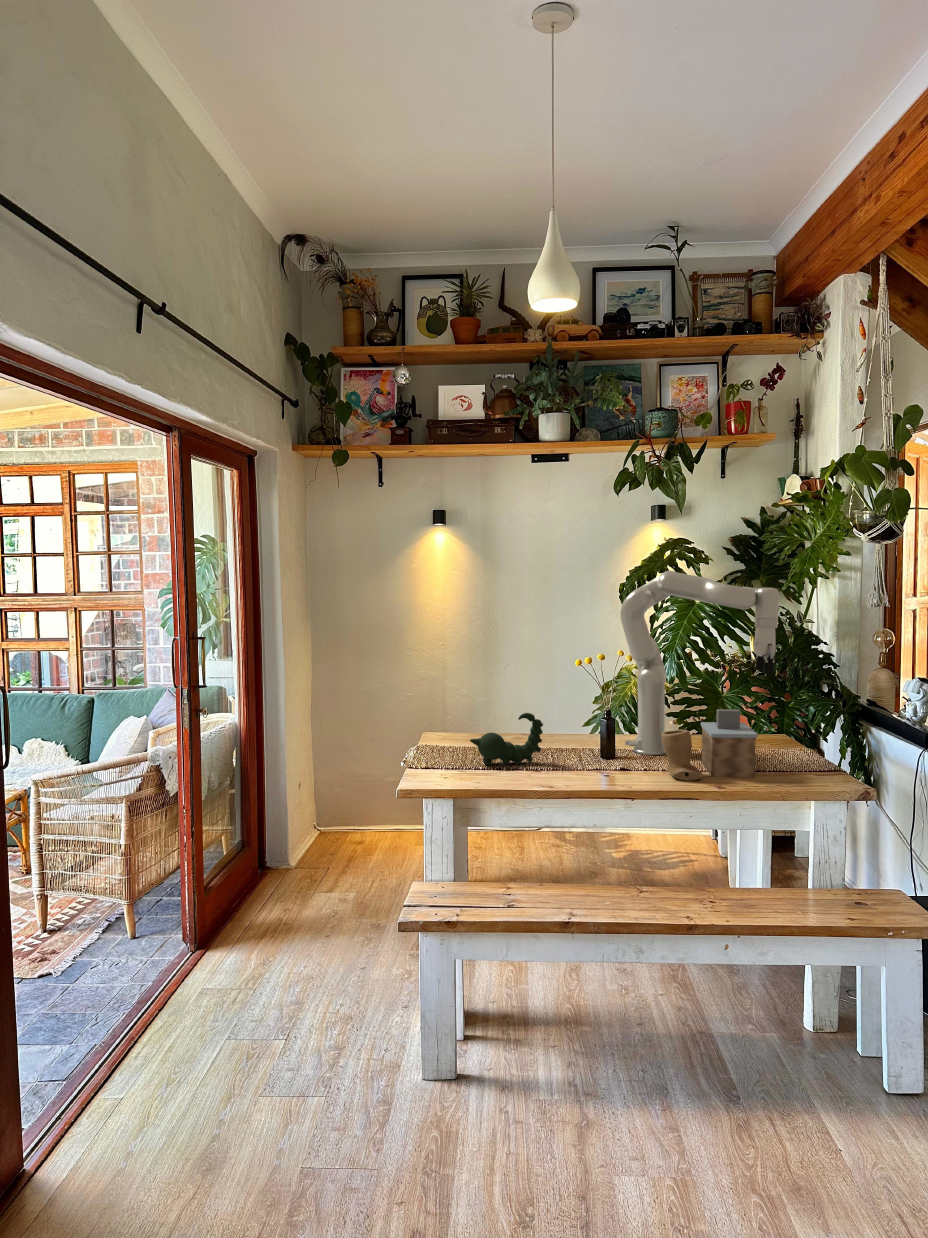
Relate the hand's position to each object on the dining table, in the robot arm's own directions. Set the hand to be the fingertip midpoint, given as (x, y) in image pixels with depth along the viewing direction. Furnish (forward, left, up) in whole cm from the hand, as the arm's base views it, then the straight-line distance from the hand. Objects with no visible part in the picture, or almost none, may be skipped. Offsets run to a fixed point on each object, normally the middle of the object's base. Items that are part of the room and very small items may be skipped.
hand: (764, 672), depth 297 cm
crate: (-16, -18, -31) cm, 39 cm away
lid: (-16, -18, -18) cm, 29 cm away
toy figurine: (-90, -13, -31) cm, 96 cm away
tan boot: (-33, -26, -31) cm, 52 cm away
